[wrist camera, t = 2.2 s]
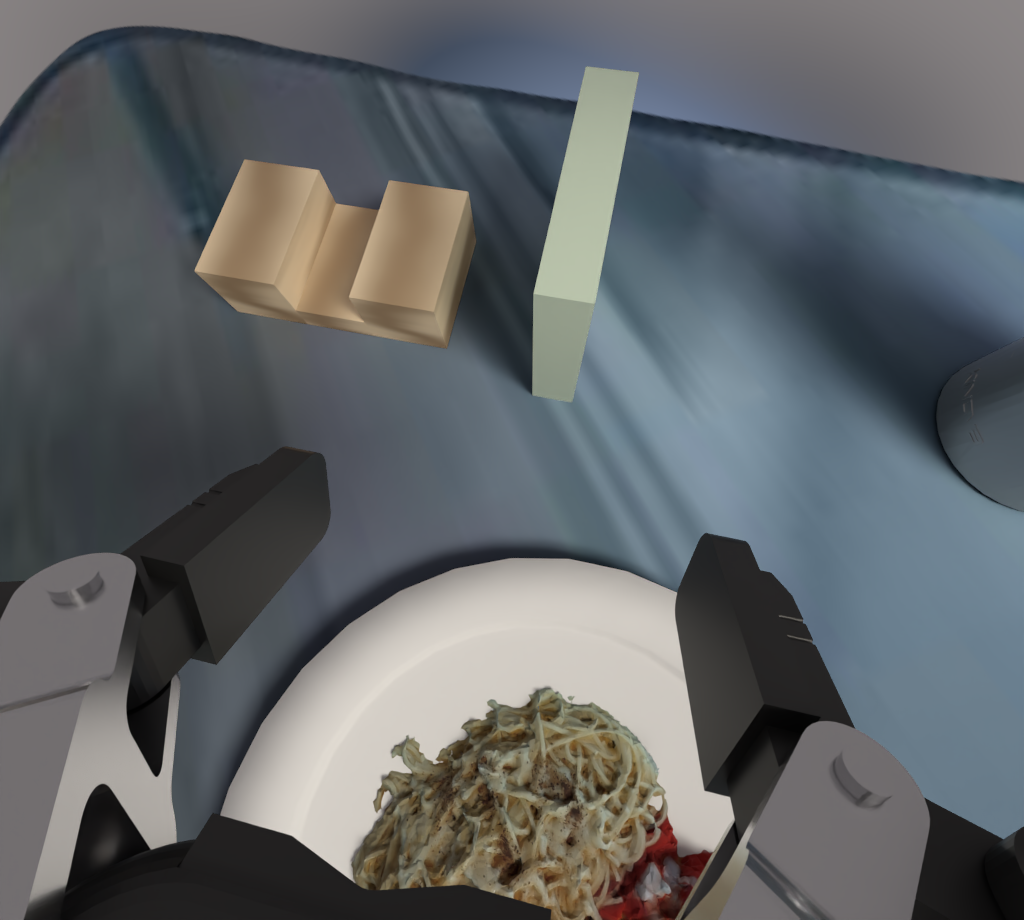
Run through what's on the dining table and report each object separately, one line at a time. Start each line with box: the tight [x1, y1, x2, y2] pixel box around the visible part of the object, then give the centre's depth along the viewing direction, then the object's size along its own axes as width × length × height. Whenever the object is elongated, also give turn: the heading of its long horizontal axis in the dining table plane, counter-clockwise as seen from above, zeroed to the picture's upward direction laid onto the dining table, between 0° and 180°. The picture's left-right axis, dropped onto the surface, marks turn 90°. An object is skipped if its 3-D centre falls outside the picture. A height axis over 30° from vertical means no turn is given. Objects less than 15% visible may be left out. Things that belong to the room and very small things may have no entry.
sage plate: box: [532, 67, 639, 402], centre depth 24 cm, size 2×12×10 cm, turn 168°
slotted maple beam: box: [195, 159, 476, 349], centre depth 28 cm, size 14×8×4 cm, turn 78°
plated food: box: [220, 558, 734, 920], centre depth 20 cm, size 30×30×3 cm
